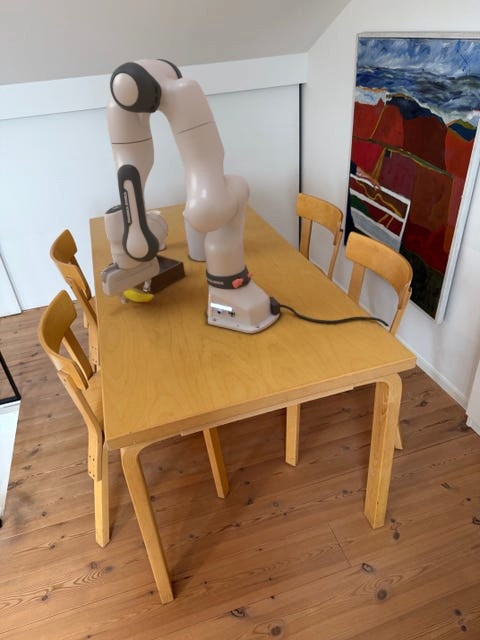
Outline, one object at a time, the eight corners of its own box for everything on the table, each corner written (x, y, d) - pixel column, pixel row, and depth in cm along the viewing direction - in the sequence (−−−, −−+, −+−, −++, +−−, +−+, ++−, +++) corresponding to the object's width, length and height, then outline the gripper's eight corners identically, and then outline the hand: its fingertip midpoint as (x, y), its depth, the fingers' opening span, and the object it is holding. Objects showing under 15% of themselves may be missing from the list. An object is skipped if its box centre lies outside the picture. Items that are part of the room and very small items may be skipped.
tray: (185, 276, 162) (183, 261, 159) (152, 293, 153) (149, 279, 150) (144, 262, 175) (142, 249, 172) (112, 278, 166) (108, 264, 163)
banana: (152, 311, 143) (148, 293, 139) (116, 295, 154) (111, 278, 150) (159, 307, 144) (156, 289, 141) (123, 292, 155) (119, 275, 152)
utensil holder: (229, 246, 183) (225, 203, 173) (223, 261, 170) (219, 216, 161) (193, 247, 185) (187, 204, 176) (185, 262, 172) (178, 218, 163)
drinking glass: (163, 252, 183) (157, 215, 175) (148, 252, 184) (140, 216, 176) (169, 245, 188) (163, 210, 181) (154, 245, 190) (147, 210, 182)
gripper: (105, 273, 132) (116, 313, 139) (158, 248, 145) (165, 287, 152) (93, 268, 136) (104, 308, 143) (145, 244, 149) (153, 282, 156)
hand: (136, 297), depth 148 cm, fingers open, 8 cm apart
